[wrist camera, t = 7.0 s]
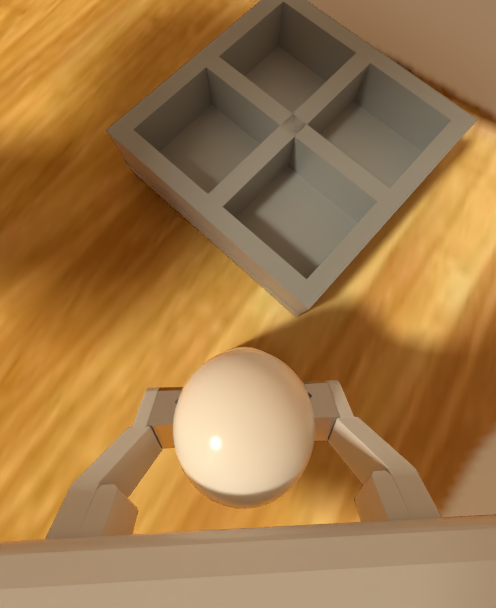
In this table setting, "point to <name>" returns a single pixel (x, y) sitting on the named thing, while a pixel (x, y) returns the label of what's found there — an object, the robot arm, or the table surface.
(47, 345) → the table surface
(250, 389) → the cream rounded piece
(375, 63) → the grey compartment tray
